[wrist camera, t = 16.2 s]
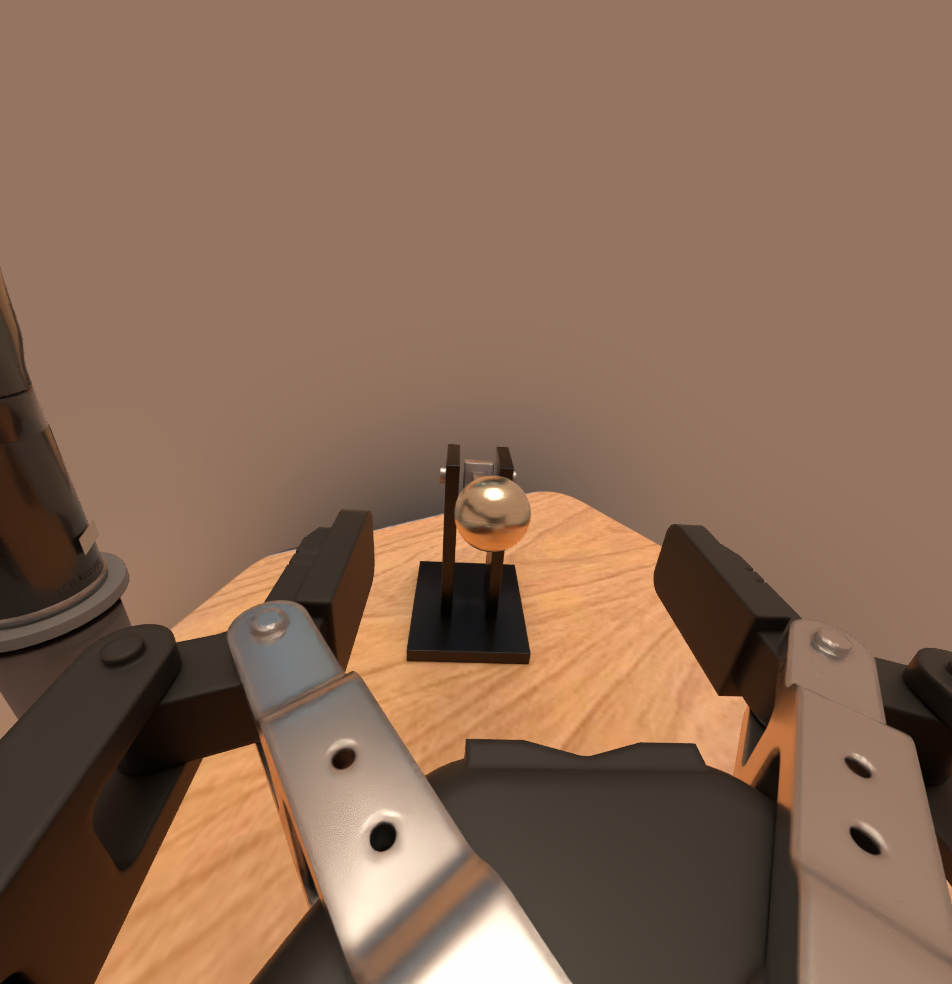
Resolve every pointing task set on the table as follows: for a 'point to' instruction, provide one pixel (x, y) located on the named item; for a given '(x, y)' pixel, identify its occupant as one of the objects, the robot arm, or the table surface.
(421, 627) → the bracket
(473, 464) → the lever
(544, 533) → the table surface
